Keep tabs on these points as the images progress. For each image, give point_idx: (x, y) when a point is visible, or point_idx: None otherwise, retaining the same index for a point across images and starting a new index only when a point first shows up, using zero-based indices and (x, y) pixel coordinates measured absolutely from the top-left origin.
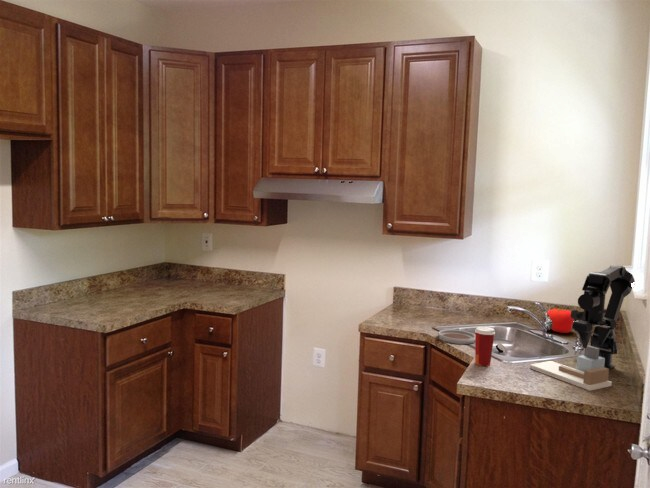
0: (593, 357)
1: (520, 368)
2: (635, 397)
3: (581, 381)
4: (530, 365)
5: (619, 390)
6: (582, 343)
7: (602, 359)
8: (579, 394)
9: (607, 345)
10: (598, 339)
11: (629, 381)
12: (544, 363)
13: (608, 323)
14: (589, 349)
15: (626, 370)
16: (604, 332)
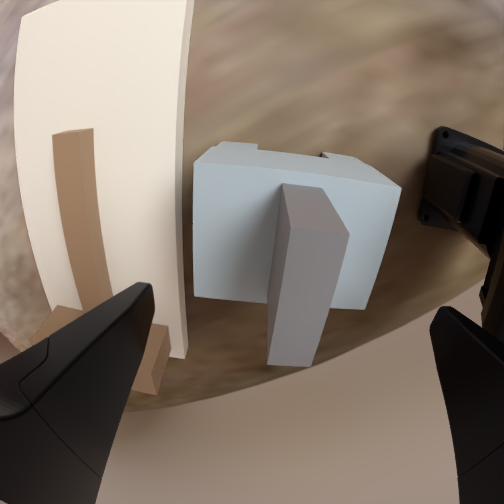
0: (269, 280)
1: (9, 16)
2: (168, 405)
3: (59, 293)
4: (24, 19)
5: (173, 372)
6: (98, 315)
7: (334, 304)
8: (24, 315)
9: (485, 328)
10: (474, 342)
11: (320, 354)
12: (96, 5)
13: None
14: (277, 274)
15: (470, 277)
16: (483, 467)
